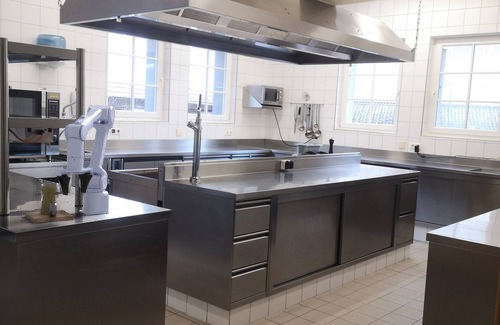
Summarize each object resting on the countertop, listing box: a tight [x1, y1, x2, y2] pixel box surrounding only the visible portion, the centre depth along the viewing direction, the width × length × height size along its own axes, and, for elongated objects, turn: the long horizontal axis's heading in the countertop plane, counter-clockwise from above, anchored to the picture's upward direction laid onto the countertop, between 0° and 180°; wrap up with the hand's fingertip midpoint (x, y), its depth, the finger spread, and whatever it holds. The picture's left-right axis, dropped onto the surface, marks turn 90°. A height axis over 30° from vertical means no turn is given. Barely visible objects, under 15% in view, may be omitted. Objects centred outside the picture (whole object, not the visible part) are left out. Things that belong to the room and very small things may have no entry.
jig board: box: [24, 209, 74, 224], centre depth 184 cm, size 14×12×2 cm
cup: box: [58, 168, 74, 194], centre depth 236 cm, size 7×7×12 cm
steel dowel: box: [49, 202, 58, 217], centre depth 180 cm, size 2×2×5 cm
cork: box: [39, 184, 57, 215], centre depth 185 cm, size 6×6×11 cm
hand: (74, 193), depth 180 cm, fingers open, 7 cm apart
